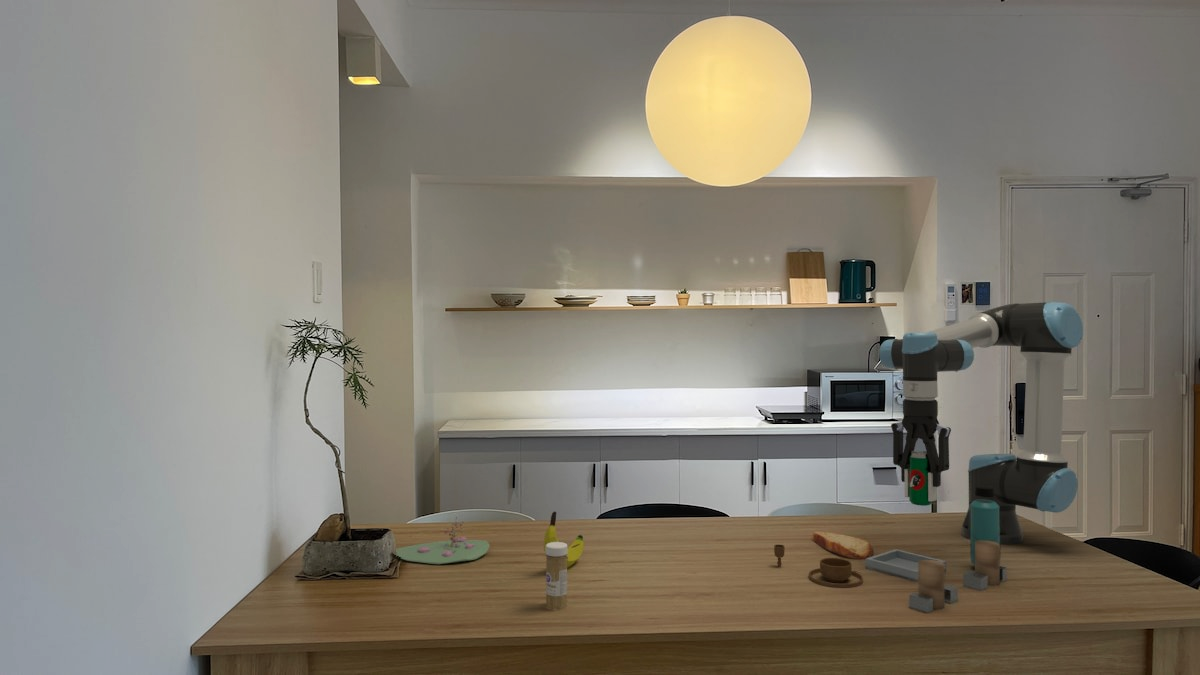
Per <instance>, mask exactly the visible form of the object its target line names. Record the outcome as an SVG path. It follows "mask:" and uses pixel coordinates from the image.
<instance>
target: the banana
mask: <svg viewBox="0 0 1200 675" xmlns="http://www.w3.org/2000/svg"><path fill="white" fill-rule="evenodd" d="M556 519H557V511H553V512H552V514H551V517H550V522H549V526H548V528H547V529H546V532H545V535H544V540H543V551H544V552H545V548H546V544H548V543H551V542H560V541H559V539H558V538H557V534H556V522H557V521H556ZM584 545H585V544H584V538H583V535H582V534H579V535H577V537H576V538H575V540H574V541H573V542H572V544H571V545H570V546H569V547H567V549H568V553H567V569H568V568H570V567H572V566H573V565H574V564H575V563H576V562H577V561H578V560H579V559H580V558H581V557H580V556H582V554H583V550H584Z"/></svg>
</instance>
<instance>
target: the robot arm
mask: <svg viewBox="0 0 1200 675" xmlns="http://www.w3.org/2000/svg"><path fill="white" fill-rule="evenodd" d="M1083 335H1084V326H1083V321H1082V319H1081V315H1080V314H1079V312H1077V310H1076V308H1075V307H1074V306H1072V305H1071V304H1069V303H1067V302H1057V301H1056V302H1054V301H1050V302H1049V301H1047V302H1031V303H1030V302H1029V303H1028V302H1027V303H1010V304H1004V305H1001V306H996V307H993V308H991V309H987V310H983V311H981V312H977V313H975V314H972V315H971V316H969V318H968V319H967V320H966V319H965V320H963V321H960V322H956V323H954V324H951V325H947V326H943V327H940V328H936V329H933V330H930V331H927V332H919V331H918V332H906V333H904V334H903V336H902V338H901V339H900V338H894V339H887V340H884V341H883V342H882V343H881V345H880V347H879V350H878V355H879V356H878V357H879V360H880V363H881V365H882V366H884V367H885V368H887V369H888V368H890V369H894V370H902V397H904V399H903V400H902V414H903V417H902V420H901V421H899V422H894V423H891V424H890V427H891V430H892V433H893V436H892V438H893V439H892V448H893V450H892V456H893V457H892V459H893V460H892V463H893V465H895V466H898V467H899V468H900V470H901V472H900V473H901V476H900V477H901V478H900V479H901V482H903V483H904V498H909V456H910V454H911V451H915V448H916V444H917V441H918V439H920V440H922V443H923V444H924V447H925V451H927V455H928V459H929V463H930V467H931V471H930V472H929V473H928V501H931V502H932V501H933V502H935V501H938V488H939V487H941V484H942V482H941V473H942V472H944V471H948V470H950V438H949V437H950V435H951V431H952V429H951V427H949V426H946V427H945V426H943V425H942V424H940V422H939V420H938V415H939V406H938V405H939V404H938V402H939V401H937V398H938V397H939V394H938V393H939V391H938V373H939V372H940V373H941V372H943V373H944V372H957V373H958V372H960V371H965V370H967V369H968V368H970V367H971V365H972V364H973V362H974V360H975V352H974V349H975V348H983V349H984V348H990V347H995V346H996V347H997V346H998V347H999V346H1002V347H1003V346H1004V347H1020V350H1019V351H1020V354H1021V356H1023V358H1025V360H1026V363H1025V364H1026V365H1025V366H1026V367H1025V396H1024V397H1025V398H1024V424H1023V425H1024V426H1023V447H1022V448H1023V449H1022V451H1021V452H1019V453H1018V454H1017V455H1016V454H1013V453H988V454H986V453H985V454H976V455H973V456H971V457H970V458H969V461H968V470H967V473H968V508H967V512H966V513H965V514H966V515H965V517H964V520H963V523H962V525H961V536H962V537H964V538H965V539H968V540H971V536H970V535H971V506H970V504H971V503H972V502H973V501H975V500H977V499H986V500H992V501H994V502H996V503H997V504H998V505H999V526H1000V540H1001V542H1000V544H1001V546H1003V545H1009V546H1010V545H1018V544H1021V543H1022V542H1023V541H1024V533H1023V532H1024V531H1023V529H1022V527H1021V524H1020V521H1019V518H1018V515H1017V511H1016V510H1017V509H1016V506H1020V507H1024V508H1029V509H1032V510H1033V509H1034V510H1038V511H1040V512H1042V513H1043V512H1047V513H1048V512H1050V513H1056V514H1057V513H1062V512H1064V511H1066V510H1067V509H1068V508H1070V506H1071V504H1072V503H1073V502H1074V501H1075V499H1076V495H1077V492H1078V484H1079V481H1078V477H1077V474H1076V472H1074V470H1072V469H1070V468H1068V462H1069V461H1068V459H1067V458H1066V457H1065V456H1064V455H1063V454H1062V439H1063V437H1062V436H1063V410H1064V386H1065V384H1064V382H1065V381H1064V379H1065V362H1066V360H1068V358H1069V357H1071V356H1072V349H1073V348H1074V349H1075V347H1076V348H1077V346H1079V345H1080V344H1081V340H1082V339H1083ZM904 430H905V431H906V436H905V445H904ZM936 432H937V435H938V442H937V443H938V444H937V445H938V450H937V445H936V438H935V433H936ZM976 486H989V487H992V488H993V489H994V497H981V496H976V495H975V489H976ZM933 502H932V503H933Z"/></svg>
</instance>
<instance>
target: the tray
mask: <svg viewBox="0 0 1200 675" xmlns="http://www.w3.org/2000/svg"><path fill="white" fill-rule="evenodd" d="M920 560H935V561H939V562H942V563H944V573H945V572H946V571H947V561H946V560H944V559H943V560H942V559H938V558H934V557H931V556H926V555H922V554H917V553H915V552H914V553H913V552H909V551H906V550H902V549H897V548H894V549H891V550H889V551H885V552H882V553H878V554H876V555H872V557H869V558H866V559H865V569H867V570H871V571H875V572H879V573H882V574H885V575H889V576H891V577H892V576H893V577H896V578H900V579H904V580H907V581H911V582H914V581H915V582H914V583H918V561H920Z"/></svg>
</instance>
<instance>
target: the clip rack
mask: <svg viewBox="0 0 1200 675" xmlns="http://www.w3.org/2000/svg"><path fill="white" fill-rule="evenodd" d="M1007 577H1008V568H1007V567H1006V566H1002V565H1000V582H1001V583H1004V582H1006V581H1007ZM962 586H963V587H965V588H969V589H973V590H977V591H980V592H982V591H984V590H987V589H988V586H989V585H988V575H984V574H980V573H976V572H975V571H971V570H969V571H966V572H964V573H963V574H962ZM908 599H909V600H908V608H909V609H913V610H916V611H919V612H921V613H922V612H923V613H926V614H928V613H929V614H930V613H931V612H933V611H934V609H933V598H932V597H928V596H925V595H921V594H918V592H912V593H909V594H908ZM958 600H959V588H958V586H953V585H950V584H946V583H944V603H948V604H953V603H955V602H958Z"/></svg>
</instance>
